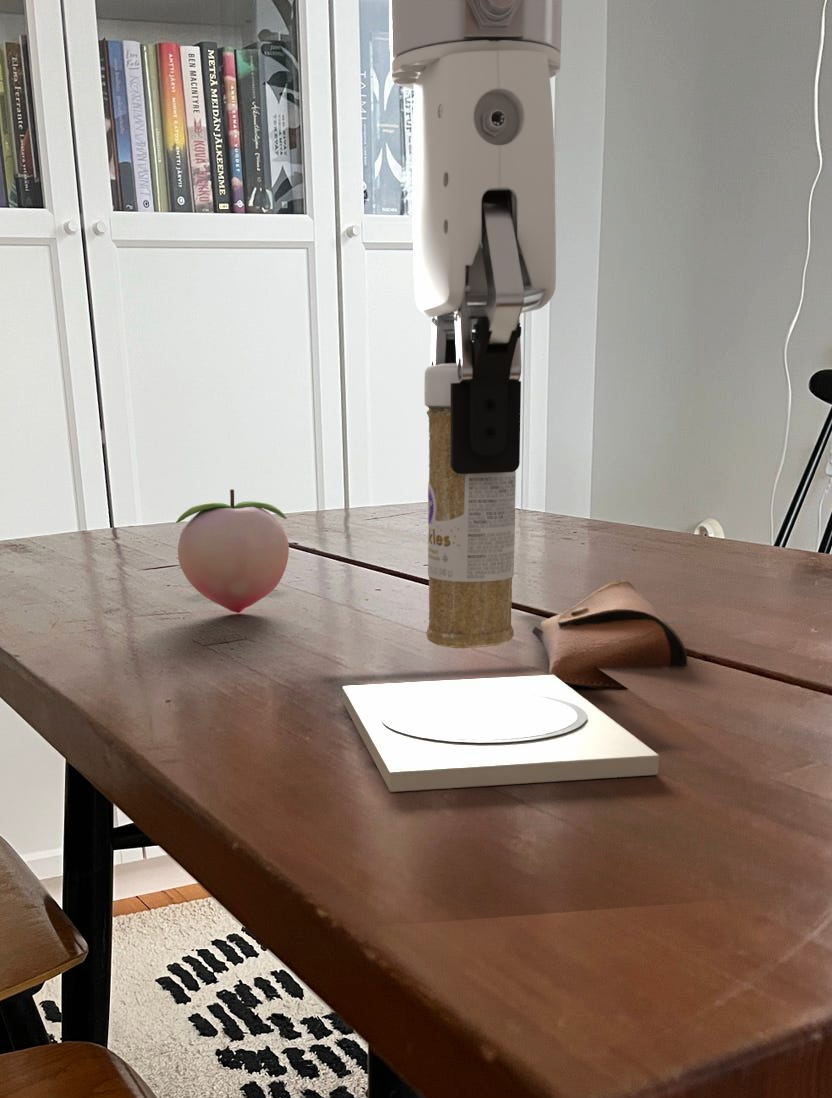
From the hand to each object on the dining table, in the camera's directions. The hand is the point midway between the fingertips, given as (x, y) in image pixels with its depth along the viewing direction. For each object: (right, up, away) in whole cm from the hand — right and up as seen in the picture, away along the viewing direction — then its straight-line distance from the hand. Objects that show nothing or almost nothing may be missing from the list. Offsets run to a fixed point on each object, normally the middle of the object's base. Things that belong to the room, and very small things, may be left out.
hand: (472, 464), depth 62 cm
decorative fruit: (-15, +1, +44) cm, 46 cm away
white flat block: (+1, -13, +6) cm, 14 cm away
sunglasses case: (+11, -6, +23) cm, 26 cm away
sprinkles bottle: (0, -8, +3) cm, 9 cm away
